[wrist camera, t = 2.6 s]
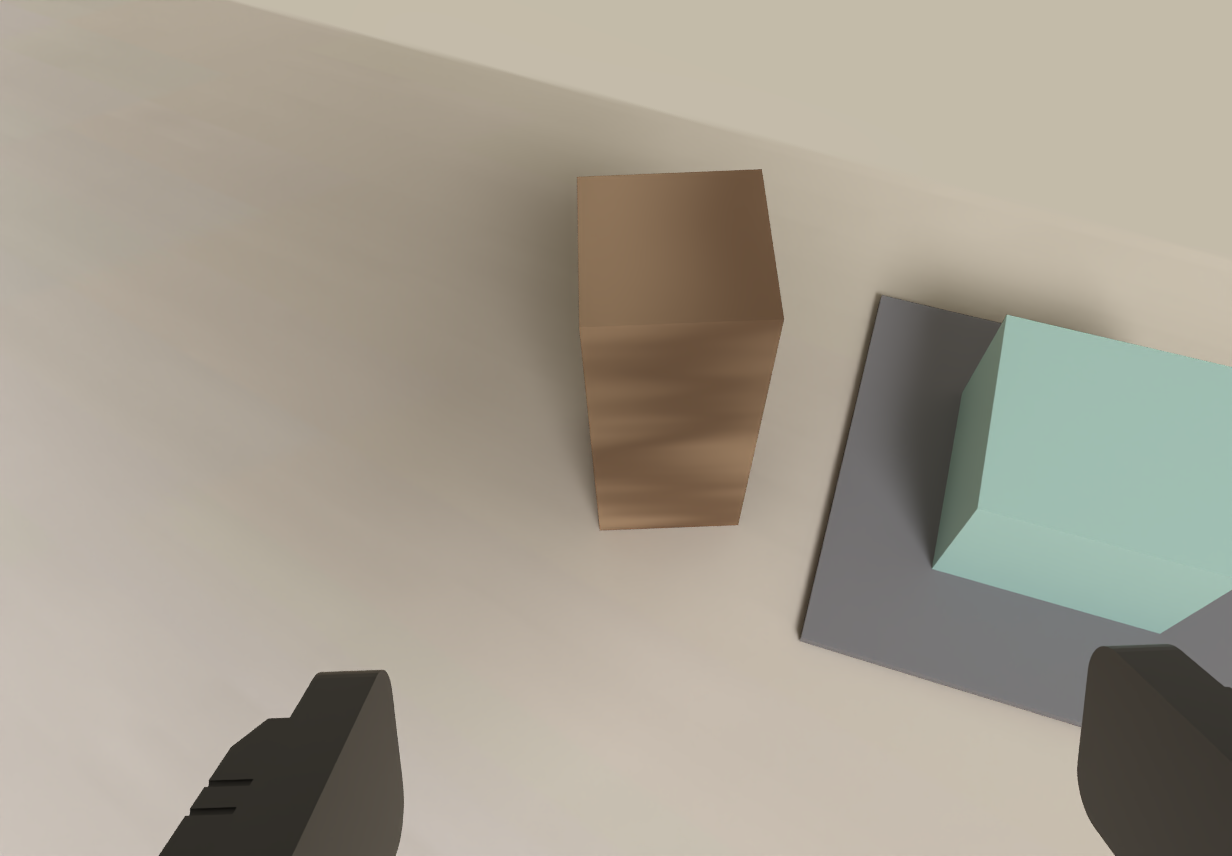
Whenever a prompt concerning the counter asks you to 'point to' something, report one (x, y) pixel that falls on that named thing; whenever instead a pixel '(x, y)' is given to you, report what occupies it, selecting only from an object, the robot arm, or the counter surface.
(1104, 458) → the plinth
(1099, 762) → the robot arm
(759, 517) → the counter surface
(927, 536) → the mat
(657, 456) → the pillar
